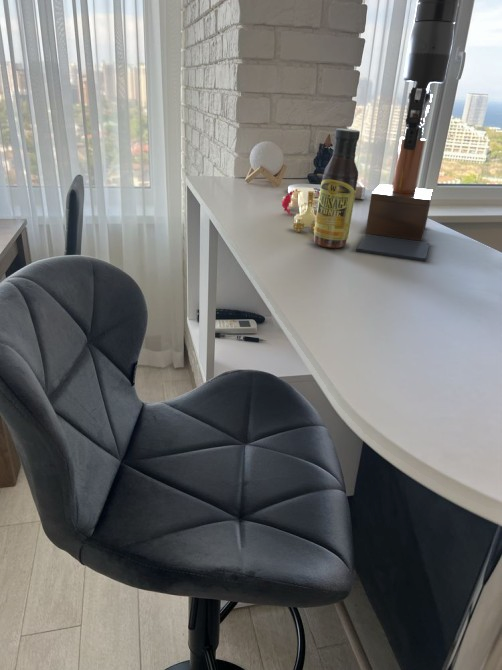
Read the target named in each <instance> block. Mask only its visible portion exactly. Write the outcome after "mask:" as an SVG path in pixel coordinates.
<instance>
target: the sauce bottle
mask: <svg viewBox="0 0 502 670" xmlns="http://www.w3.org/2000/svg"><path fill="white" fill-rule="evenodd" d="M360 135H361V131H360V130H356V129H351V128H336V129H335V132H334V139H335V140H334V146H333V151H332V156H331V158H330V159H329V162H328V163H327V165H326V166H325V168H324V170H323V175H322V179H321V182H320V185H321V189H320V195H319V197H318V198H319V202H318V203H317V207H316V214H315V215H316V222H315V229H314V230H313V234H314V235H313V243H314V244H316V245H317V246H320V247H323V248H329V249H340V248H344V247H345V246H346V244H347V240H348V238H349V232H350V227H351V222H352V215H353V210H354V205H355V200H356V199H355V194H356V185H357V182H358V180H359V170H358V167H357V164H356V160H355V159H356V150H357V146H358V141H359V139H360Z"/></svg>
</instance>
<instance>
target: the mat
mask: <svg viewBox="0 0 502 670" xmlns="http://www.w3.org/2000/svg"><path fill="white" fill-rule="evenodd" d="M429 247H430V242H425V241H417V240H410V239H403V238H395V237H388V236H381V235H374V234H367V233H365V235H364V236H363V238H362V240H361V241H360V242H359V244H358V246H357V247H356V250H355V251H356V252H359V253H360V252H361V253H368V254H373V255H380V256H387V257H395V258H400V259H407V260H412V261H413V260H414V261H420V262H426V260H427V256H428V251H429Z"/></svg>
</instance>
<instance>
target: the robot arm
mask: <svg viewBox="0 0 502 670" xmlns="http://www.w3.org/2000/svg"><path fill="white" fill-rule="evenodd" d="M459 4H460V0H416V6H415V12H414V17H413V23H412V27H411V28H412V29H411V31H410V33H409V38H408V45H407V51H406V57H405V62H404V68H403V69H404V70H403V74H402V79H403V81H404V82H412V83H413V82H414V87H412V89H411V90H410V92H409V93H408V97H407V103H408V104H407V107H406V118H405V131H406V135H405V134H404V137H405V141H404V146H403V147H404V149H406V150H414V149H415V148H416V144H417V139H418V133H419V129H417V128H423V126H424V125H425V122H426V120H427V117H428V113H429V109H430V105H431V104H432V98H433V93H431V92H432V91H431V89H430V85H431V84H443V83H444V82H445V81H446V77H447V72H448V67H449V62H450V57H451V53H452V47H453V42H454V35H455V34H454V33H455V24H456V19H457V14H458V10H459ZM406 127H408V128H407V129H406Z"/></svg>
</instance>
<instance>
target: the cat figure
mask: <svg viewBox="0 0 502 670" xmlns="http://www.w3.org/2000/svg"><path fill="white" fill-rule="evenodd" d="M315 192H316V190H314V188H307V187H294V188H293V191H291V192H290V193H288V194H286V195H284V196H283V197H282V201H281V207H282V208H283V209H284V211H285V212H286V213H287V214H289V215H290V216H293V213H292V212H291V209H290V208H291V207H292V208H295V209H298V211H299V213H295V215H294V221H293V222H292V223H293V224H292V229H293V230H295V232H296V233H301V230H304V229H305V228H310V230H311V231H314V229H315V222H316V215H317V214H315V209H317V205H315V204H318V202H319V197H315ZM317 194H319V195H320V193H319V192H318V193H317Z"/></svg>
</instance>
